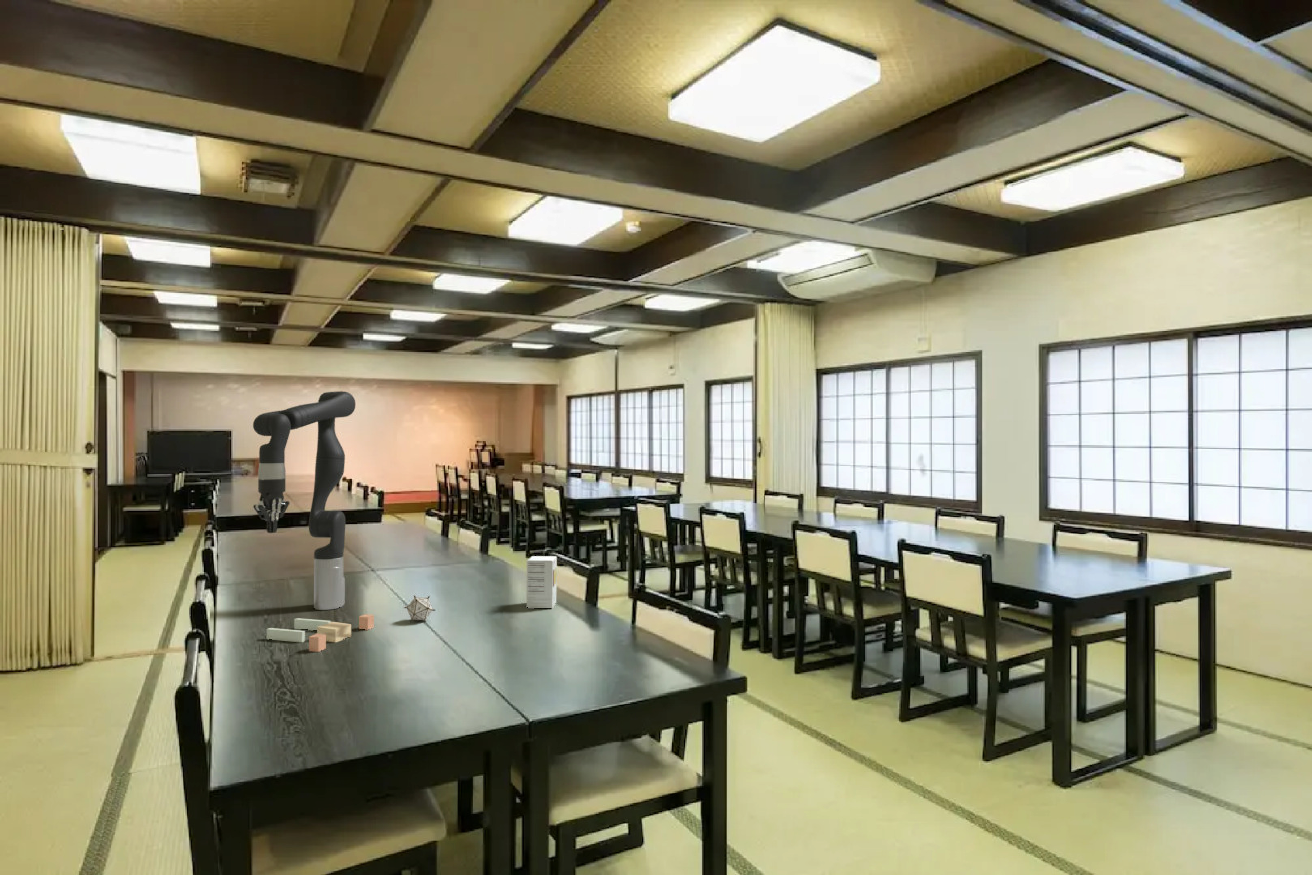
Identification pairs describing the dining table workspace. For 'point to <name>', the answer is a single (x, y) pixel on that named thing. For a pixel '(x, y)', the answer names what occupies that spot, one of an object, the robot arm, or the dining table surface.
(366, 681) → the dining table surface
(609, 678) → the dining table surface
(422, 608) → the game die
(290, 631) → the white blocks
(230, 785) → the dining table surface
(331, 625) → the maple block
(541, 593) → the supplement box
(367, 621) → the gate posts
